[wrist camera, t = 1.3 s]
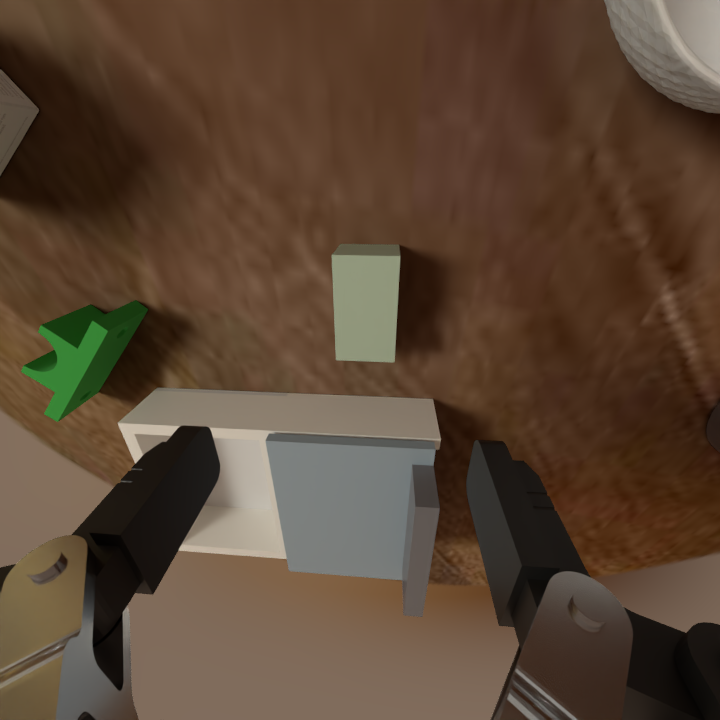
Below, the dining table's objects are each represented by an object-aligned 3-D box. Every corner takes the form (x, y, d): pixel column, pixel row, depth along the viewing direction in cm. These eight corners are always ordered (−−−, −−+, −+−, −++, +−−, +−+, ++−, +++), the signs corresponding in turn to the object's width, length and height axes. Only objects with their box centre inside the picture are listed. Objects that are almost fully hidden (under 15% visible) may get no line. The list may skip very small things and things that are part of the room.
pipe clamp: (106, 276, 26) (53, 293, 22) (150, 308, 27) (108, 330, 23) (60, 367, 30) (9, 395, 26) (99, 391, 31) (56, 423, 27)
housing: (432, 399, 28) (440, 439, 24) (418, 521, 36) (422, 569, 31) (157, 387, 30) (117, 423, 26) (198, 506, 38) (173, 550, 33)
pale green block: (398, 244, 23) (400, 255, 19) (394, 337, 26) (394, 362, 23) (340, 243, 23) (331, 254, 20) (343, 336, 26) (335, 360, 23)
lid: (434, 441, 24) (442, 491, 20) (417, 572, 31) (420, 626, 27) (268, 433, 24) (246, 479, 21) (291, 562, 32) (277, 613, 28)
